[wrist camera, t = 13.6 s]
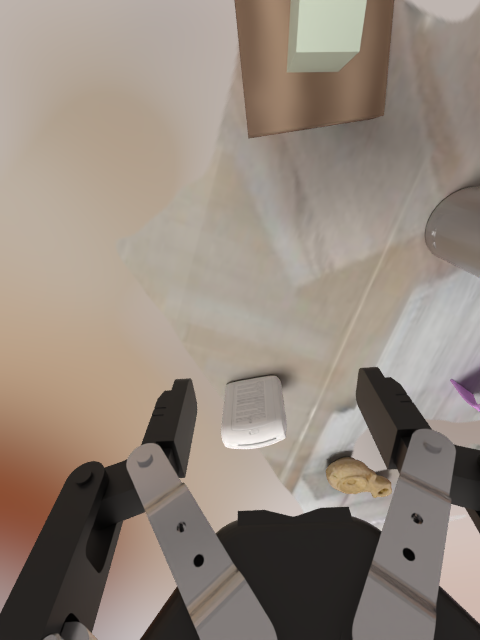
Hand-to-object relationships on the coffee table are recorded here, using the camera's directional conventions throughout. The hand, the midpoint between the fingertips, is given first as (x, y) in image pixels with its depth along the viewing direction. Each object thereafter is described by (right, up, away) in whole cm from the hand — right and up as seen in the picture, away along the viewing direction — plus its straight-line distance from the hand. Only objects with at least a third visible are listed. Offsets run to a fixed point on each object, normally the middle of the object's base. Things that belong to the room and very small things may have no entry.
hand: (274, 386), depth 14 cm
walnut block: (+5, +32, +17) cm, 36 cm away
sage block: (+5, +30, +13) cm, 33 cm away
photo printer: (+1, -9, +39) cm, 39 cm away
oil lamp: (+23, -28, +49) cm, 61 cm away
